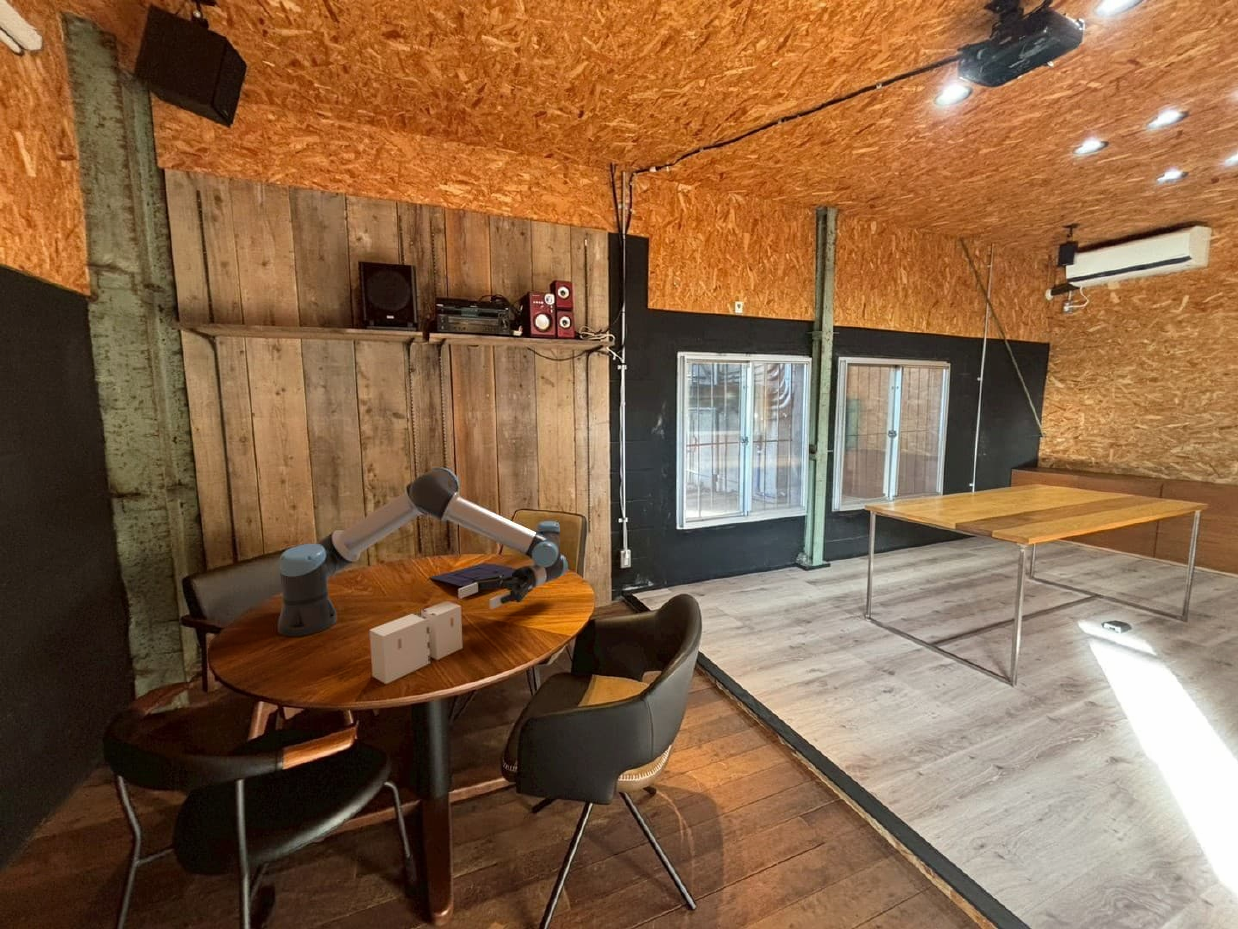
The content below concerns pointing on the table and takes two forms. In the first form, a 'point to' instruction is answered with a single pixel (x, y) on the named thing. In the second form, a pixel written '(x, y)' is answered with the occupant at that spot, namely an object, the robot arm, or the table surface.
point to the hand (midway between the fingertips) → (474, 599)
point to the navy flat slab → (474, 573)
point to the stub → (444, 628)
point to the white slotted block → (399, 647)
